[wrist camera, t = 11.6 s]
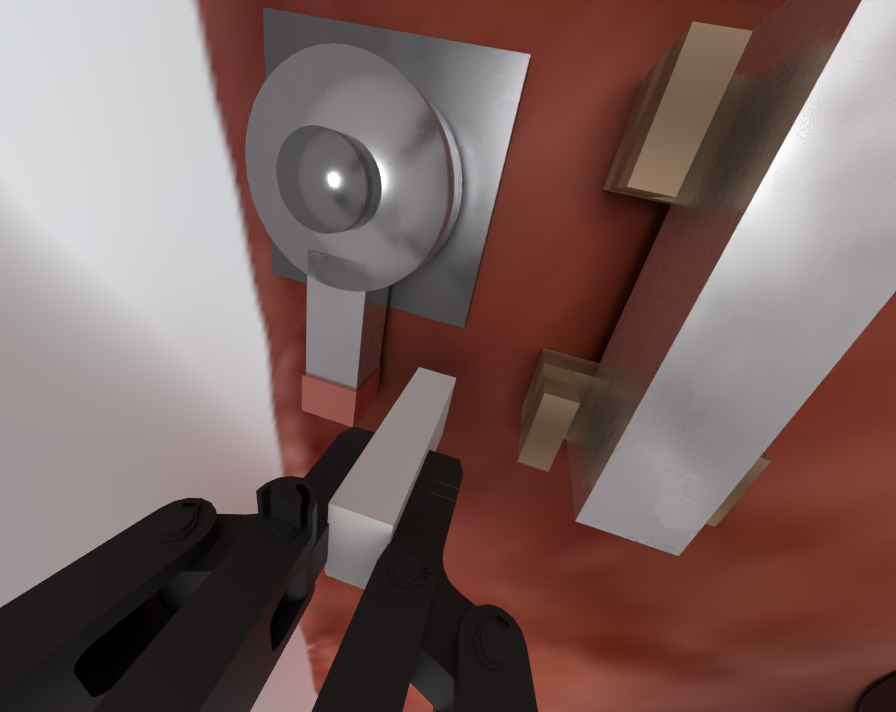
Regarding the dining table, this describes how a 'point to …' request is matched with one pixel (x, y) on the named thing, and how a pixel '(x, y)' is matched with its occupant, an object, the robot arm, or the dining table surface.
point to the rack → (652, 178)
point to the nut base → (470, 120)
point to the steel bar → (748, 275)
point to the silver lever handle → (350, 203)
